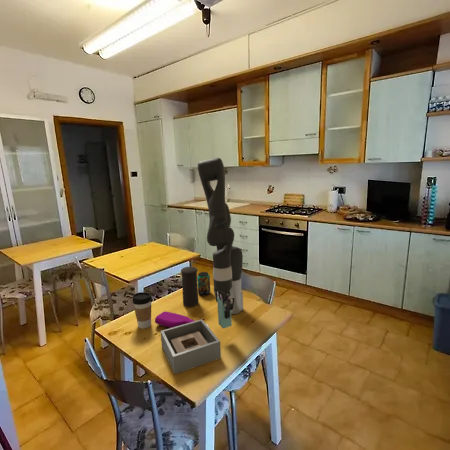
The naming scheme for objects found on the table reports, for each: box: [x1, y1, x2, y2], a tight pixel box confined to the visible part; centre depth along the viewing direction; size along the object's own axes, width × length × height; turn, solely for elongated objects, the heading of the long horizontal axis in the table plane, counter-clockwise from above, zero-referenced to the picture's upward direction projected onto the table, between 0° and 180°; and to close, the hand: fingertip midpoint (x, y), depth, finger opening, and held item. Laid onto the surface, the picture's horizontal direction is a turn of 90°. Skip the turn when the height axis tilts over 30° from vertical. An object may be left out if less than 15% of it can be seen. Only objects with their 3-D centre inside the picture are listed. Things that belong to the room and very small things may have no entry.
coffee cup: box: [132, 291, 152, 330], centre depth 128 cm, size 8×8×15 cm
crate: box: [160, 318, 222, 375], centre depth 109 cm, size 18×18×7 cm
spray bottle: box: [154, 311, 210, 328], centre depth 128 cm, size 3×11×24 cm
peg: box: [216, 297, 233, 329], centre depth 115 cm, size 4×4×12 cm
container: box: [180, 266, 200, 308], centre depth 147 cm, size 9×9×20 cm
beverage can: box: [197, 271, 211, 296], centre depth 160 cm, size 7×7×12 cm
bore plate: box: [170, 331, 208, 354], centre depth 109 cm, size 12×12×3 cm
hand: (224, 315), depth 115 cm, fingers closed on peg, 4 cm apart
